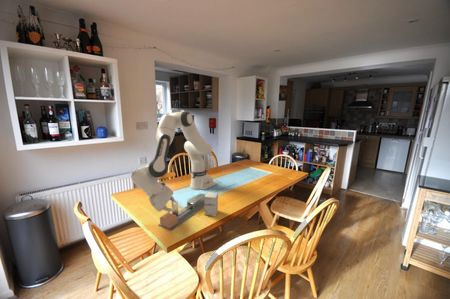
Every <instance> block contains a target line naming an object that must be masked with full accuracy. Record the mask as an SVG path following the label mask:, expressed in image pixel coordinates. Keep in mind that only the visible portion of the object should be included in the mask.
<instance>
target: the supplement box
mask: <svg viewBox="0 0 450 299" xmlns="http://www.w3.org/2000/svg"><path fill="white" fill-rule="evenodd" d="M204 195H205V207H204V216H212V217H213V216H214V217H216V215H217V214H218V209H219V206H218V204H219V202H218V201H219V200H218V199H219V193H218V192H211V191H210V192H209V191H206V193H205V194H204Z"/></svg>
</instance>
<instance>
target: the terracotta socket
mask: <svg viewBox="0 0 450 299" xmlns="http://www.w3.org/2000/svg"><path fill="white" fill-rule="evenodd" d="M177 223H178V222H177V216H176V215H174V214H172V212H170V213H169V212H166V213H165V214H163V215H161V216H160V217H159V224H161V225H162V226H165V227H167V228H171V227H173V226H174V225H175V224H177Z"/></svg>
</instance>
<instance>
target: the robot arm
mask: <svg viewBox="0 0 450 299" xmlns="http://www.w3.org/2000/svg"><path fill="white" fill-rule="evenodd" d="M176 129H181V131H182V133H183V135H184V138H185V139H186V141H185V142H184V144H183V149H184V151H185V152H186V153H187V155H188V157H189V159H190V166H191V170H190V177H191V178H190V184H189V188H191V189H193V190H207V189H209V188H211V187H214V186H215V185H216V181H214V179H213V177H212V176H211V175H210V174H209V170H208V169H206V168H205V167H206V166H205V165H206V164H205V160H204V159H203V158H202V156H208V155H209V156H210V154H211V153H212V151H213V150H212V149H213V147H212V145H211V143H209V142H208V141H206V140H205V138H203V136H202V135H201V133H200V132H199V129H198V127H197V125H196V123H195V121H194V119H193V115H192V114H191V112H189V111H186V110H185V111H175V112H171V113H169V112H167V113H166V114H164V115H162V116H161V119H160V120H159V122H158V125H157V128H156V135H155V139H156V142H157V148H156V152H155V155H154V158H153V159H152V160H151V161H150V162H149V164H148V165H146V166H143V167H138V168H136V170H134V172H133V173H132V175H131V181H132V182H133V184H135V186H136V187H138V188H139V189H140V190H142V191H143V192H144V194H146V195H147V197H148V200H149V203H150V205H151V206H152V207H153V208H154V209H155V210H156V211H157V212H162V211H166V212H167V213H172V207H168V206H167V204H168V202H169V201H171V203H172V202H173V201H176V200H175V198H174V196H173V195H174V191H173V190H172V189H171V188H170V186H168V185H166V183H165V182H164V181H163V182H158V180H159V179H160V178H162V177H164V176H165V175H166V174H167V172H168V170H169V166H168V160H167V158H168V153H169V149H170V146H171V144H172V142H173V140H174V139H175V134H176Z"/></svg>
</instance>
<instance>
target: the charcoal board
mask: <svg viewBox="0 0 450 299" xmlns="http://www.w3.org/2000/svg"><path fill="white" fill-rule="evenodd" d="M202 209H205V203H204V204H203V205H201V206H200V207H198V208H197V209H196V210H194V211H192V210H188V211H186V212H185V213H183V214H182V215H180V216H179V217H177V222H178V223H177V224H175V225H174V226H173V227H171V228H167V227H165V226H162V225H161V224H160V223H159V224H158V226H159V227H161V228H163V229H166V230H168V231H171V232H172V231H173V230H175V229H176V228H177V227H179V226H180V225H181V224H183V223H185V222H186V221H187V220H188V219H190V218H191V217H192V216H194V215H196V214H197V213H198V212H200V211H201V210H202Z"/></svg>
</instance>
